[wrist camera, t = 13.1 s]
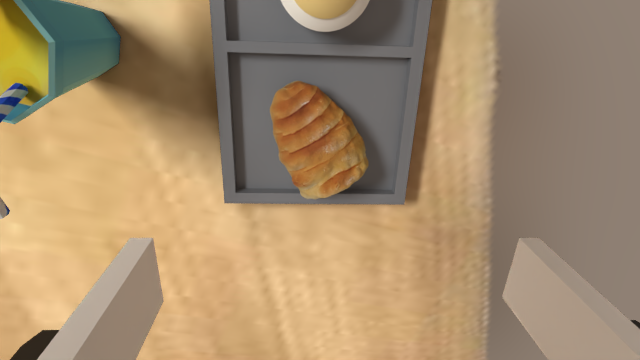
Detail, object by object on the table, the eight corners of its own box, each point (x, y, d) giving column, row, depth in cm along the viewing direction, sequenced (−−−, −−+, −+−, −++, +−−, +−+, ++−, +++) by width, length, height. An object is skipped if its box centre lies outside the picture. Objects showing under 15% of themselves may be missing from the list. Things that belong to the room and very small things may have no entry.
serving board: (228, 192, 35) (218, 218, 30) (209, -93, 26) (190, -117, 21) (398, 193, 36) (412, 219, 31) (433, -81, 27) (460, -101, 22)
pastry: (248, 105, 30) (246, 111, 26) (321, 63, 30) (329, 63, 26) (305, 199, 33) (310, 216, 29) (372, 161, 33) (385, 173, 29)
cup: (165, 131, 32) (64, 215, 18) (76, 143, 32) (-92, 237, 18) (108, -57, 27) (-96, -139, 13) (1, -42, 27) (-320, -109, 13)
